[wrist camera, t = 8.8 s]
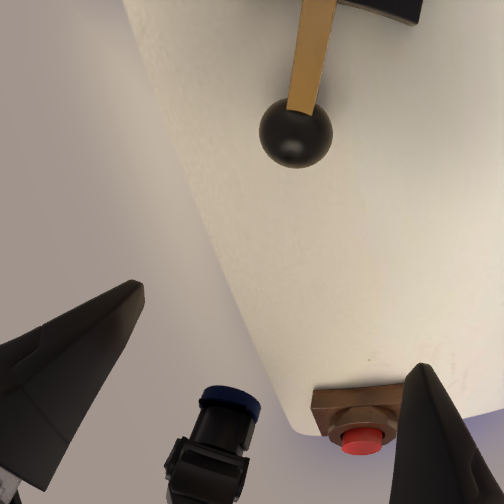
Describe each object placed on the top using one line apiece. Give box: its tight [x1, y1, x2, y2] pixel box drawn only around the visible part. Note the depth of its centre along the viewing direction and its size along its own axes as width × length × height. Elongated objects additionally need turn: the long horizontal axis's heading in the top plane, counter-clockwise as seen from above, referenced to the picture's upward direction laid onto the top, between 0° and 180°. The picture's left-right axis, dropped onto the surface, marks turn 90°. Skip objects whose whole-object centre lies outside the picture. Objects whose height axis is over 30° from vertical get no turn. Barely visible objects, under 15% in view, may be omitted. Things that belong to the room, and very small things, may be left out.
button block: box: [311, 383, 404, 447], centre depth 28 cm, size 10×7×4 cm
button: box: [342, 427, 382, 455], centre depth 26 cm, size 4×4×2 cm
